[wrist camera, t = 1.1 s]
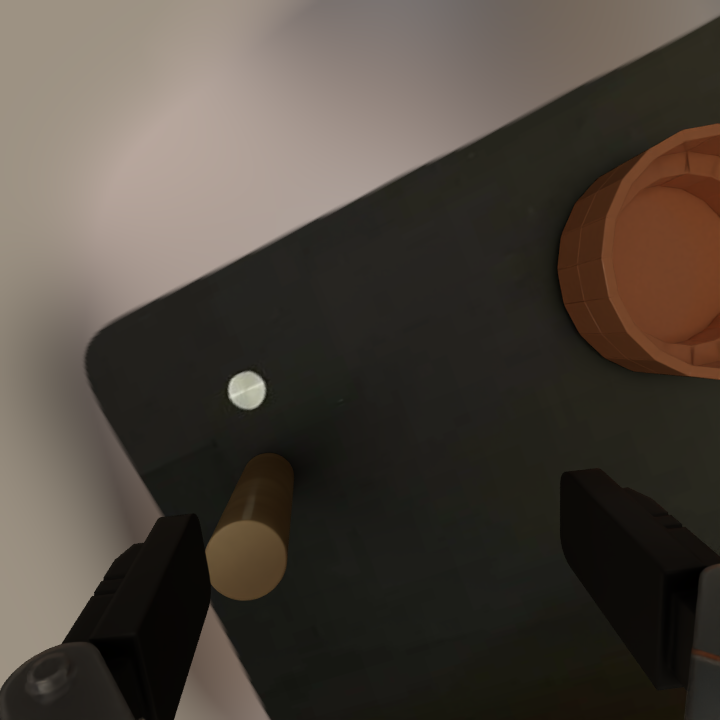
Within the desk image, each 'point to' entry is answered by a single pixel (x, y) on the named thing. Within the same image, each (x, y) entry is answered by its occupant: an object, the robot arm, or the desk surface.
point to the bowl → (650, 259)
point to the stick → (253, 531)
